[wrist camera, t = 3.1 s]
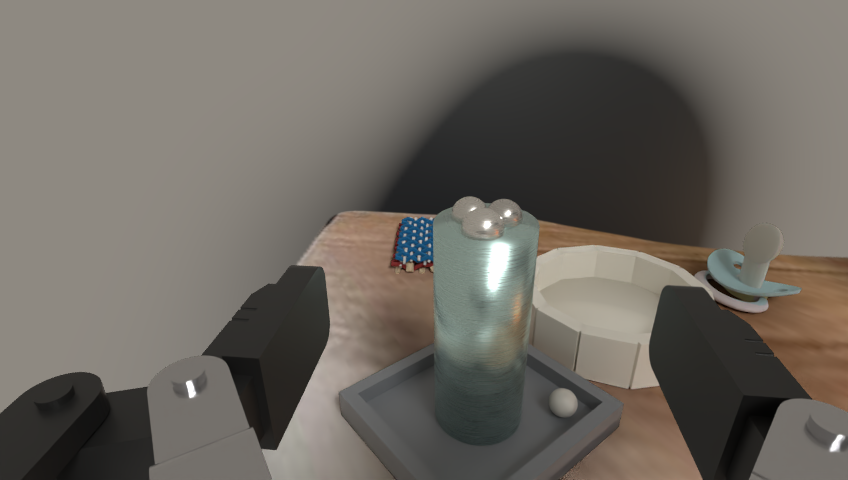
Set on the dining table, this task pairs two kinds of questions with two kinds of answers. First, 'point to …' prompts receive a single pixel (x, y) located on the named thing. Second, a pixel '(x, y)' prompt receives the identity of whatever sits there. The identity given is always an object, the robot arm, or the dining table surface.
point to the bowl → (601, 310)
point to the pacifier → (747, 271)
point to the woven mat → (414, 245)
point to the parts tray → (469, 464)
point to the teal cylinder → (482, 317)
